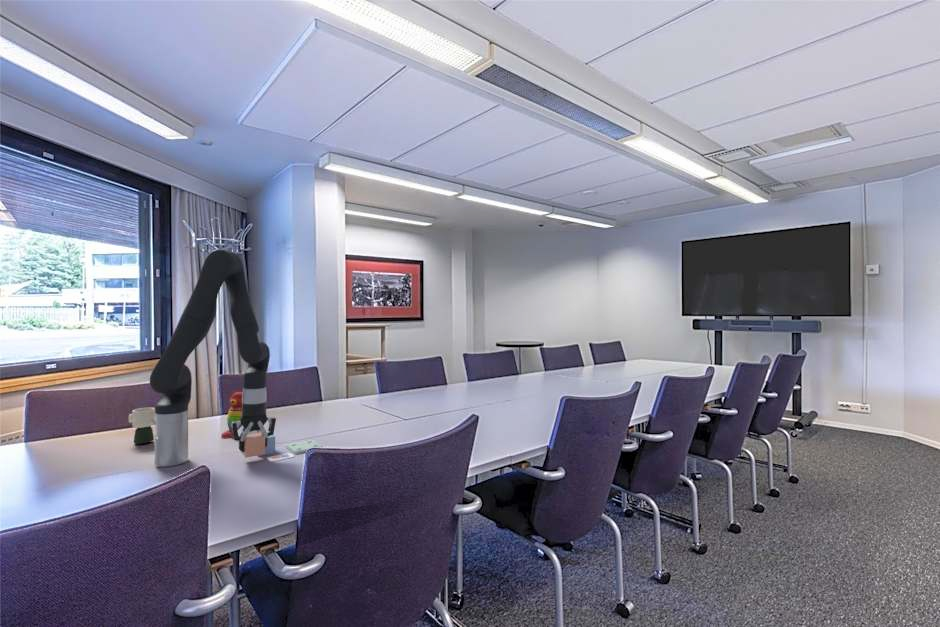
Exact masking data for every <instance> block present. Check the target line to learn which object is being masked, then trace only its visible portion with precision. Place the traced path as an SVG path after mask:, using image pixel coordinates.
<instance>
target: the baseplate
mask: <svg viewBox="0 0 940 627" xmlns="http://www.w3.org/2000/svg"><path fill="white" fill-rule="evenodd" d="M313 447H322V448H323V445H321V444H320V443H318V442H317V441H315V440H313V439H311V440H305V441H298V442H293V443H289V444H285V448H286V449H288V450H289V451H290V453H293V455H298V454H302V453H307V452H306V451H307V449H309V448H313Z"/></svg>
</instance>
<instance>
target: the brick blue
mask: <svg viewBox="0 0 940 627" xmlns="http://www.w3.org/2000/svg"><path fill="white" fill-rule="evenodd" d="M271 454H272V455H273V454H276V436H275V435H274V434H273V435H270V436H268V438H267V447H265V454H264V455H258V456H257V457H261V456H266V455H271Z"/></svg>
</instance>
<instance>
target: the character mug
mask: <svg viewBox="0 0 940 627" xmlns="http://www.w3.org/2000/svg"><path fill="white" fill-rule="evenodd" d="M128 423H129V424H130V423H131V424H132V425H131V426H132V428H134V429H135V428H136V429H135V431H134V436H133V443H134V444H136V445H142V444H149V443H151V442H152V441H155V435H154V430H153V426H154V425H155V407H150V406H149V407H140V408H135V409H133V410H132V413H129V414H128Z"/></svg>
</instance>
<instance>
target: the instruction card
mask: <svg viewBox="0 0 940 627" xmlns="http://www.w3.org/2000/svg"><path fill="white" fill-rule="evenodd" d="M295 457H296V456H295V454H292V452H287V453H283V454H277V455H272V456H267V457H266V459H267V460H268V461H269V462H270V463H272V462H277V461H282V460H286V459H287V460H288V459H291V458H292V459H293V458H295Z"/></svg>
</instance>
